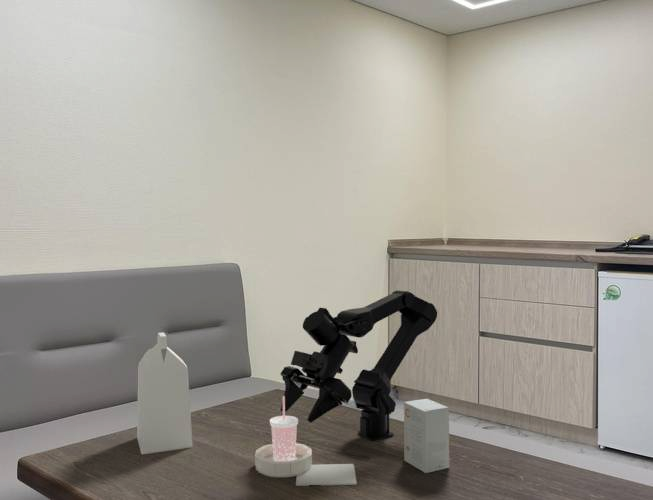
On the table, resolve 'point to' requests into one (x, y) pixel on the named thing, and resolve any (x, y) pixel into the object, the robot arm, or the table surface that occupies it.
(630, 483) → the table surface
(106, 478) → the table surface
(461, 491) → the table surface
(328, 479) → the mat
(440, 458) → the small box
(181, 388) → the milk
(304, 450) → the bowl
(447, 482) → the table surface
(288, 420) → the beverage cup
